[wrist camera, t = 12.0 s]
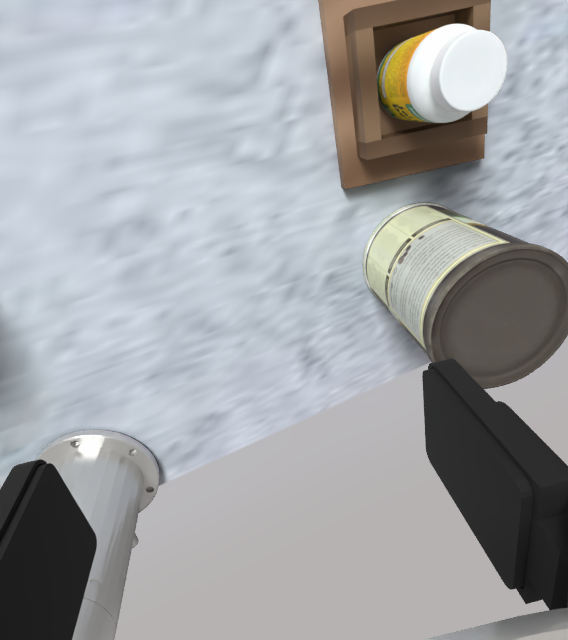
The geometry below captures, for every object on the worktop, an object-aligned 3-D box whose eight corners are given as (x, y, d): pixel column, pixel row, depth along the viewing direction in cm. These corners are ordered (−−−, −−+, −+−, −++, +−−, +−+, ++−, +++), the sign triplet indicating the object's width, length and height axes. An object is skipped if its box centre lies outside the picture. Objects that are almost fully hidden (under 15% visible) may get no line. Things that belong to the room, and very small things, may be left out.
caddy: (476, 156, 37) (501, 161, 34) (341, 187, 36) (354, 194, 33) (480, -49, 30) (511, -69, 27) (316, -16, 30) (329, -32, 27)
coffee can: (475, 198, 39) (601, 240, 26) (457, 302, 43) (556, 382, 31) (364, 203, 37) (440, 251, 25) (358, 311, 42) (419, 397, 29)
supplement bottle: (450, 45, 32) (535, 23, 23) (431, 124, 34) (502, 130, 26) (381, 33, 31) (444, 5, 22) (366, 115, 33) (418, 118, 25)
